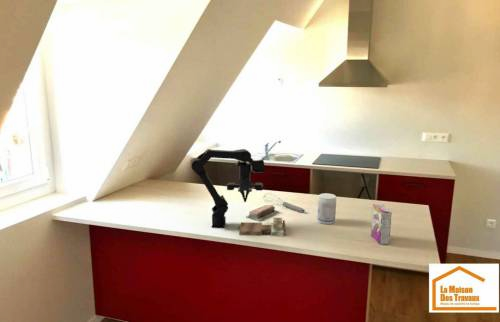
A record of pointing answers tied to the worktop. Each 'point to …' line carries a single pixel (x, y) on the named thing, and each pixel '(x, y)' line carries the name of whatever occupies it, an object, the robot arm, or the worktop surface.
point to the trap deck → (261, 229)
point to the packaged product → (262, 213)
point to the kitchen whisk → (288, 205)
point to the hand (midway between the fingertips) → (245, 201)
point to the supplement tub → (326, 208)
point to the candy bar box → (381, 224)
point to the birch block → (277, 223)
